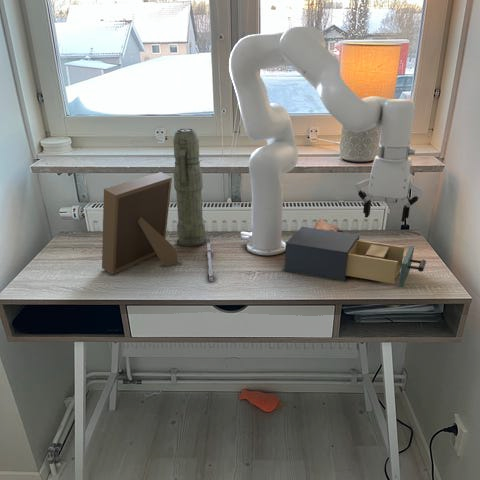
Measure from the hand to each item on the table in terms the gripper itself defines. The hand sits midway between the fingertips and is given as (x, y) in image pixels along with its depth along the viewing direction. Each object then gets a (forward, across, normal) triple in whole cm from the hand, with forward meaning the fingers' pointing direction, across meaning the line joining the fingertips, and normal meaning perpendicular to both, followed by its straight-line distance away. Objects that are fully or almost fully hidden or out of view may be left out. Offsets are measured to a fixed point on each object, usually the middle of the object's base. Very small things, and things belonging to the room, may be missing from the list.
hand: (385, 218), depth 139 cm
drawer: (+16, -2, 0) cm, 16 cm away
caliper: (+16, +47, +14) cm, 51 cm away
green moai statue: (+16, +62, -2) cm, 64 cm away
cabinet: (+17, +17, 0) cm, 23 cm away
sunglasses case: (+17, +22, -22) cm, 35 cm away
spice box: (+15, +1, 0) cm, 15 cm away
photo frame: (+16, +65, +20) cm, 70 cm away
